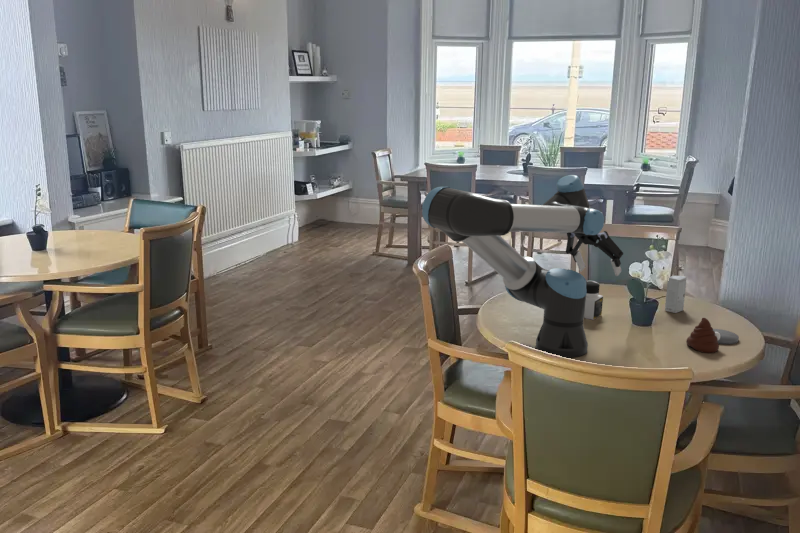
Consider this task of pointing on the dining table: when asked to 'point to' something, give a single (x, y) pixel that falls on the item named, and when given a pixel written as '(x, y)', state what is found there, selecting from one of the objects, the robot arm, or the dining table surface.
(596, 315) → the medicine bottle
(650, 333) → the dining table surface
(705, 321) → the poop emoji
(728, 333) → the coaster
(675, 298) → the skincare box
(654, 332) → the dining table surface
